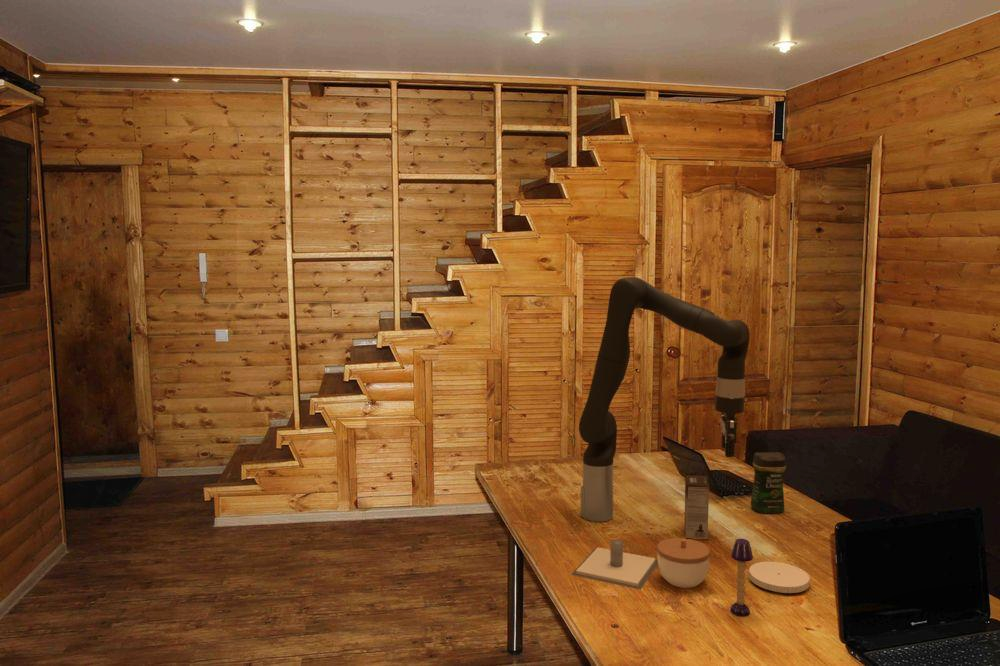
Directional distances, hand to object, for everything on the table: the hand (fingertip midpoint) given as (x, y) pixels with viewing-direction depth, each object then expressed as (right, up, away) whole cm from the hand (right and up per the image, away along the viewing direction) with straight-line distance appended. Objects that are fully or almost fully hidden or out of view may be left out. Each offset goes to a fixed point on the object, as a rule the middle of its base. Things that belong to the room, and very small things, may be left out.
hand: (727, 452), depth 195 cm
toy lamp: (-7, -31, -32) cm, 45 cm away
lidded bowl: (-17, -30, -19) cm, 39 cm away
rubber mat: (-32, -29, -11) cm, 44 cm away
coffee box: (-5, -26, +12) cm, 29 cm away
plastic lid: (+7, -30, -19) cm, 36 cm away
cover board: (-32, -28, -11) cm, 44 cm away
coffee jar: (+22, -24, +31) cm, 45 cm away
